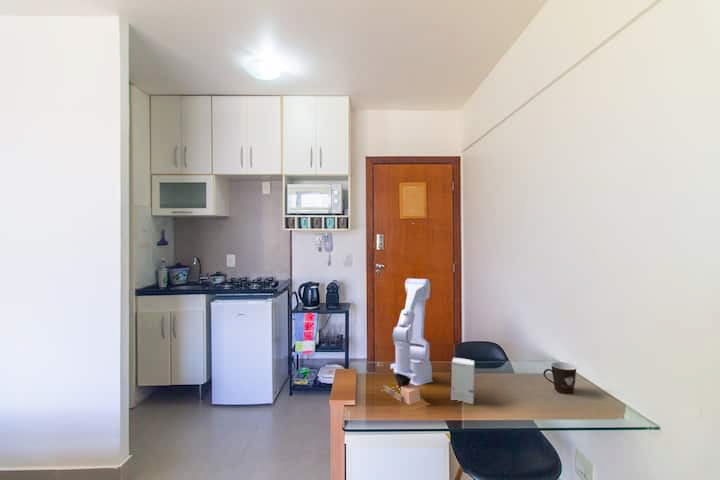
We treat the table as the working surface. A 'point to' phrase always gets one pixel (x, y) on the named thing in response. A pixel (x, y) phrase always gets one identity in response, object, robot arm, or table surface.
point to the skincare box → (462, 380)
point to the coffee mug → (563, 377)
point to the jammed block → (410, 394)
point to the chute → (393, 393)
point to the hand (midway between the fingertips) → (403, 393)
